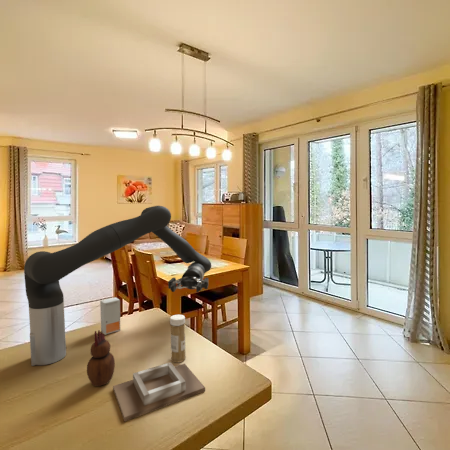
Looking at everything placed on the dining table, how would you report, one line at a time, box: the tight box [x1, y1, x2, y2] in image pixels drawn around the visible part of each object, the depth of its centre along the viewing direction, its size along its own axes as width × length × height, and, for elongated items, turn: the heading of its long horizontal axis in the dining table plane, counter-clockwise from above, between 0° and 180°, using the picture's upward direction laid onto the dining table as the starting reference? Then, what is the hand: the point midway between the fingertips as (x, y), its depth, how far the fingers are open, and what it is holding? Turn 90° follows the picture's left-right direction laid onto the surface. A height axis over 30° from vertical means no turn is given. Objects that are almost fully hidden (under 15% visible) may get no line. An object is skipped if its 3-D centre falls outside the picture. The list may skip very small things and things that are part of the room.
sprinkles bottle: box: [169, 314, 187, 363], centre depth 90 cm, size 5×5×13 cm
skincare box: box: [99, 296, 121, 336], centre depth 110 cm, size 6×4×12 cm
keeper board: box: [112, 362, 206, 422], centre depth 75 cm, size 20×13×4 cm, turn 121°
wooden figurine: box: [86, 329, 116, 387], centre depth 78 cm, size 7×6×15 cm
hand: (185, 289), depth 100 cm, fingers open, 8 cm apart
